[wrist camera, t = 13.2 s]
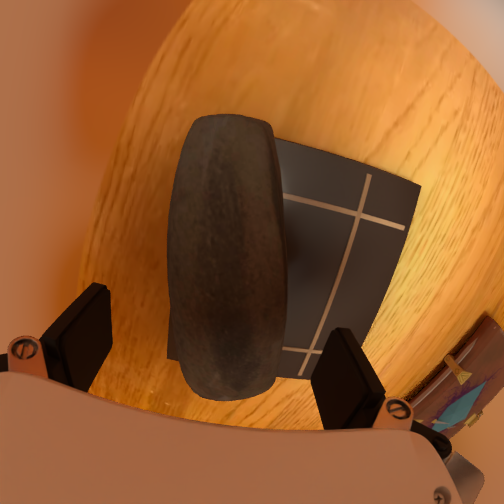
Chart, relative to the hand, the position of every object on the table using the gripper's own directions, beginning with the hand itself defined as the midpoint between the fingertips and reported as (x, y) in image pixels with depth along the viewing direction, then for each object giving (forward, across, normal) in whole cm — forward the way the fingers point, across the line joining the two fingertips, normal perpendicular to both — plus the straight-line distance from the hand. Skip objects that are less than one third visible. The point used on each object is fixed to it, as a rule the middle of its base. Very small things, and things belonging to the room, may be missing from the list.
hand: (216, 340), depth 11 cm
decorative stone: (+6, 0, 0) cm, 6 cm away
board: (+7, -4, 0) cm, 8 cm away
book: (+7, -28, +14) cm, 33 cm away
